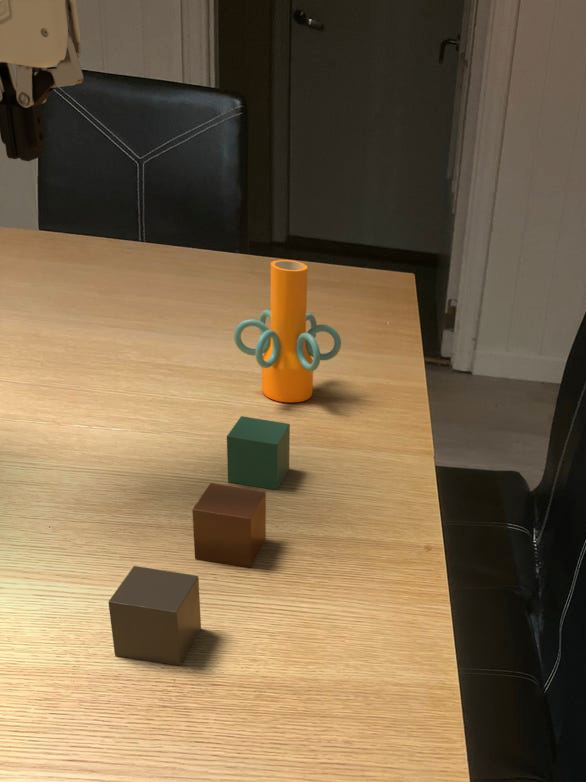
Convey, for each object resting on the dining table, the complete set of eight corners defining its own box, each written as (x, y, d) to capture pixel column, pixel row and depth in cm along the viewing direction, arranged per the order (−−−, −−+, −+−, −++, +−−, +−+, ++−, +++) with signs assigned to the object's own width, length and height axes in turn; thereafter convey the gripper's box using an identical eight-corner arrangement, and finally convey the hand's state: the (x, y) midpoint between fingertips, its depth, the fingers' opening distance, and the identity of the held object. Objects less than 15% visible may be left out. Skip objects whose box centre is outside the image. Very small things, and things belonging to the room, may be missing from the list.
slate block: (180, 666, 71) (176, 612, 68) (114, 655, 71) (108, 601, 68) (201, 627, 75) (198, 575, 72) (139, 618, 75) (133, 565, 72)
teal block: (277, 490, 94) (277, 444, 91) (227, 482, 94) (226, 436, 91) (289, 468, 98) (289, 423, 95) (241, 460, 98) (241, 415, 95)
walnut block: (251, 568, 83) (250, 518, 80) (194, 559, 83) (192, 509, 80) (265, 539, 87) (265, 491, 84) (212, 530, 87) (210, 482, 84)
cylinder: (336, 379, 119) (341, 256, 110) (340, 414, 111) (347, 284, 102) (236, 373, 116) (234, 246, 107) (233, 408, 108) (230, 274, 99)
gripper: (-149, -145, 65) (-89, 150, 75) (68, -108, 65) (96, 180, 76) (-87, -136, 71) (-40, 135, 81) (111, -103, 71) (131, 164, 82)
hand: (25, 156), depth 79 cm, fingers closed
